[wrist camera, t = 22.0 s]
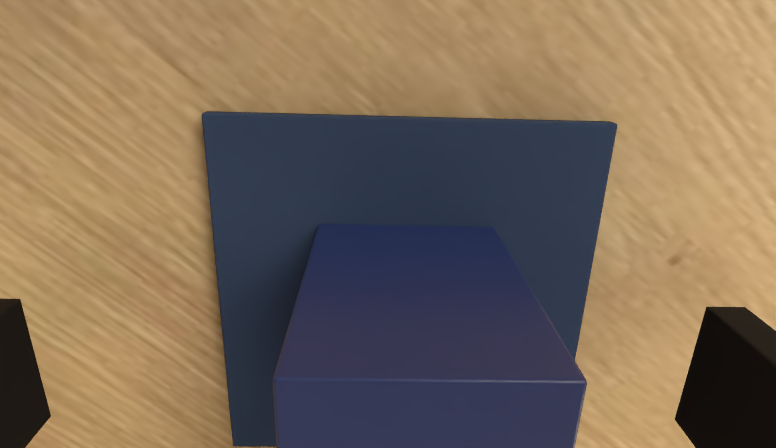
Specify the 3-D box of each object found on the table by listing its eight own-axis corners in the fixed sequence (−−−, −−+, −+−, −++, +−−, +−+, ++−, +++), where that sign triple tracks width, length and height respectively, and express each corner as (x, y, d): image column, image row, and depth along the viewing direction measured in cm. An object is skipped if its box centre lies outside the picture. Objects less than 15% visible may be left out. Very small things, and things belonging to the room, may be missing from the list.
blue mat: (206, 111, 14) (201, 113, 14) (611, 121, 14) (618, 123, 14) (235, 438, 18) (232, 447, 17) (555, 440, 18) (559, 449, 18)
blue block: (318, 222, 15) (271, 379, 8) (494, 226, 15) (589, 381, 8) (321, 371, 16) (285, 599, 10) (479, 373, 17) (547, 598, 10)
